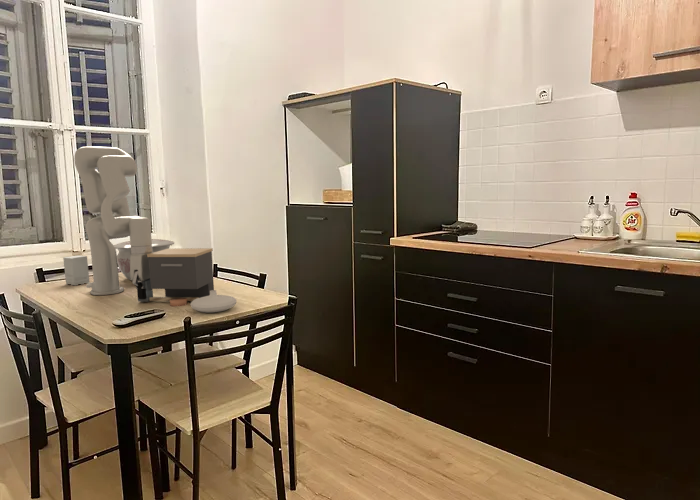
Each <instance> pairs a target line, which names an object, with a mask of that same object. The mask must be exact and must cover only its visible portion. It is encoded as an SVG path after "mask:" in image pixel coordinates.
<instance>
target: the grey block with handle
mask: <svg viewBox="0 0 700 500" xmlns="http://www.w3.org/2000/svg"><path fill="white" fill-rule="evenodd" d="M139 281H141V280H139ZM139 283H141V284H142V282H139ZM144 289H146V299H138V298H137V302H142V303H144V302H170V299H173V298H187V302H192V301H193V300H195V299H197V298H199V297H165V296H154V292H153V290H154V289H151V282H150V279H147V280H145V288H144Z"/></svg>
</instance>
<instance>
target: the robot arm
mask: <svg viewBox="0 0 700 500" xmlns="http://www.w3.org/2000/svg"><path fill="white" fill-rule="evenodd" d="M74 166H75V169H76V171H77V174H78V176H79V178H80V181H81V185H82V191H83V196H84V201H85V206H86V210H87V211H88V213H89V214H94V215H95V214H97V215H100V216H97V217H93V218H91V219H89V220H87V222H86V224H85V230H86V235H87V238H88V242H89V247H90V256H91V257H90V258H91V266H92V275H93V276H92V279H93V281H91V282H89V283H86V286H85V287H86V288H87V289H88V288H89V289H90V288H91V290H89V292H90V295H93V296H108V295H109V296H110V295H114V294H118V293H121V292H123V291H124V290H125V288H124V287H123V286H120V279H119V266H118V263H117V255H118V253H117V249H116V248H115V247H114V245H115V244H114V243H112V242H111V241H110V240H114V239H115V240H117V239H123V238H128V237H129V241H130V245H131V258H130V277H131V280H130V281H131V282H132V284H133V285H134V286H135V289H136V294H137V300H138V299H146V289H144V288H145V280H147V279H150V269H149V257H147V254H150V253H153V252H152V239H153V238H152V229H151V228H152V227H151V219H150V218H148V217H146V216H145V217H144V216H139V215H132V216H131V214H130V213H131V212H130V208H129V203H128V198H127V196H128V195H129V194H130V187H129V183H128V181H127V178H129V177H130V178H131V177H134V176H136V174H137V171H138V165H137V162H136V160H135V159H134V158H133V157H132V156H131V155H130V154H129V153H127V152H126V151H124V150H122V149H120V148H119V147H113V146H112V147H111V146H92V145H90V146H89V145H87V146H81V147H79V148H78V149H76V151H75V152H74ZM139 279H140V280H141V281H139ZM139 282H142V284H141V283H139Z"/></svg>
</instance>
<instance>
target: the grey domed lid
mask: <svg viewBox="0 0 700 500" xmlns="http://www.w3.org/2000/svg"><path fill="white" fill-rule="evenodd" d="M236 304H237V298H235V297H234V296H232V295H225V294H224V295H223V294H218V293H217V290H216V289H214V290H211V291H210V295H209V296H205V297H201V298H197V299H195V300H193V301H190V306H191V309H192V310H195V311H197V312H200V313H220V312H224V311H228V310H229V309H231V308H232V307H234V306H235V305H236Z"/></svg>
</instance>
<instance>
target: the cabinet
mask: <svg viewBox="0 0 700 500" xmlns="http://www.w3.org/2000/svg"><path fill="white" fill-rule="evenodd" d="M212 252H213V248H212V247H211V248H210V247H209V248H208V247H207V248H201V247H200V248H199V247H198V248H196V247H195V248H193V247H192V248H187V247H186V248H169V249H165V250H161V251H157V252H154V253H150V254H147V257H149V269H150V282H151V289H153V290H154V289H155V290H164V294H165V295H164V297H199V298H201V297H205V296H209V295H210V291H211V290H215V288H214V287H215V285H214V269H213V268H214V266H213V253H212Z"/></svg>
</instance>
